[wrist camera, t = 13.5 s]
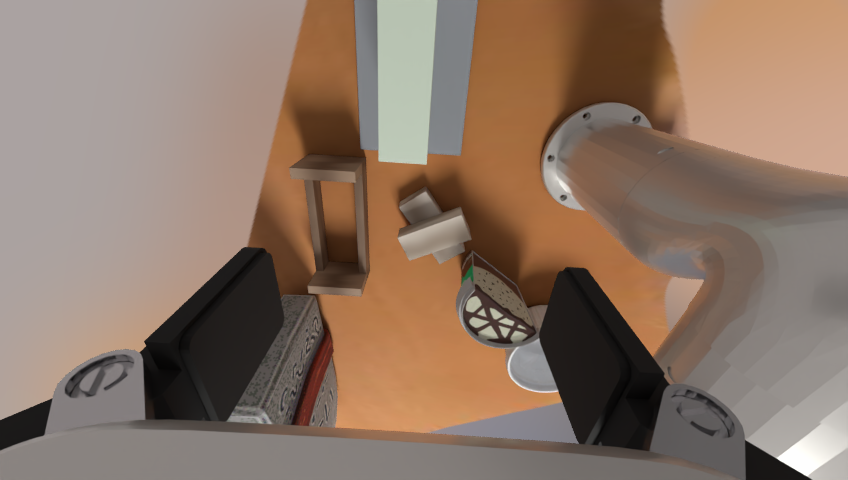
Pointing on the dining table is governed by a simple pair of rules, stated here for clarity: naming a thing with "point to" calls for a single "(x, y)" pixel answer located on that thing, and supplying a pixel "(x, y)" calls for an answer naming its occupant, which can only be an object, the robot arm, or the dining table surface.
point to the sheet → (405, 78)
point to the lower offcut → (423, 208)
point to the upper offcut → (434, 234)
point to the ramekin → (531, 361)
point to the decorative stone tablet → (294, 373)
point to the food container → (493, 306)
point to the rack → (328, 274)
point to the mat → (447, 73)
